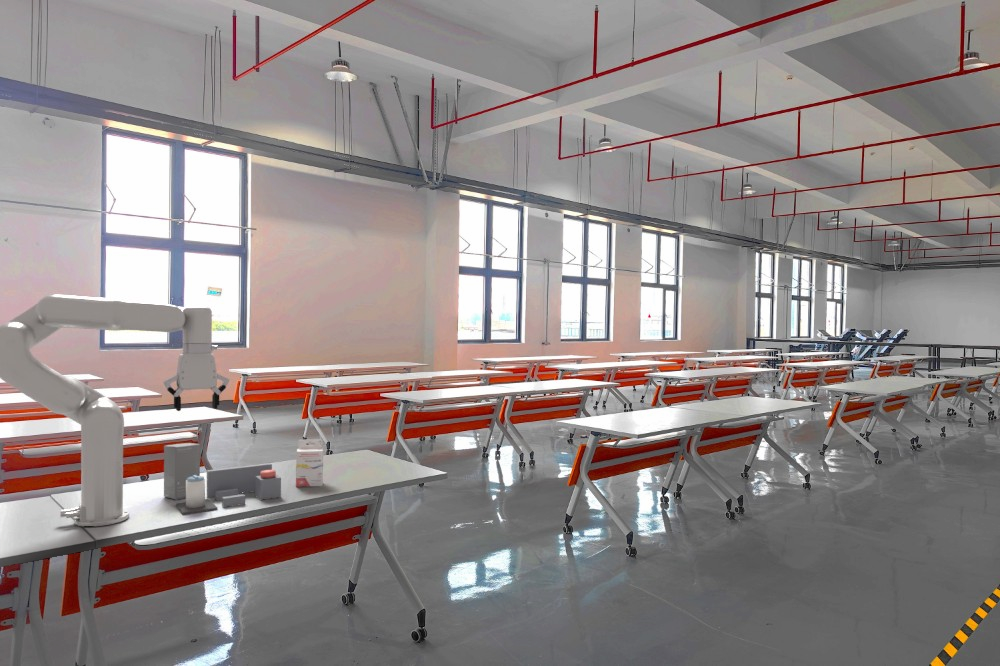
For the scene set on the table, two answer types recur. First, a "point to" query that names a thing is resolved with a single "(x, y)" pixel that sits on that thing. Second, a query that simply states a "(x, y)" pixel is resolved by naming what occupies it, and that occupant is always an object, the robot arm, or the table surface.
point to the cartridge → (195, 491)
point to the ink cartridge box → (309, 463)
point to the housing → (241, 484)
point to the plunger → (268, 474)
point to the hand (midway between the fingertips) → (196, 409)
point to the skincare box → (180, 468)
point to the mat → (207, 507)
